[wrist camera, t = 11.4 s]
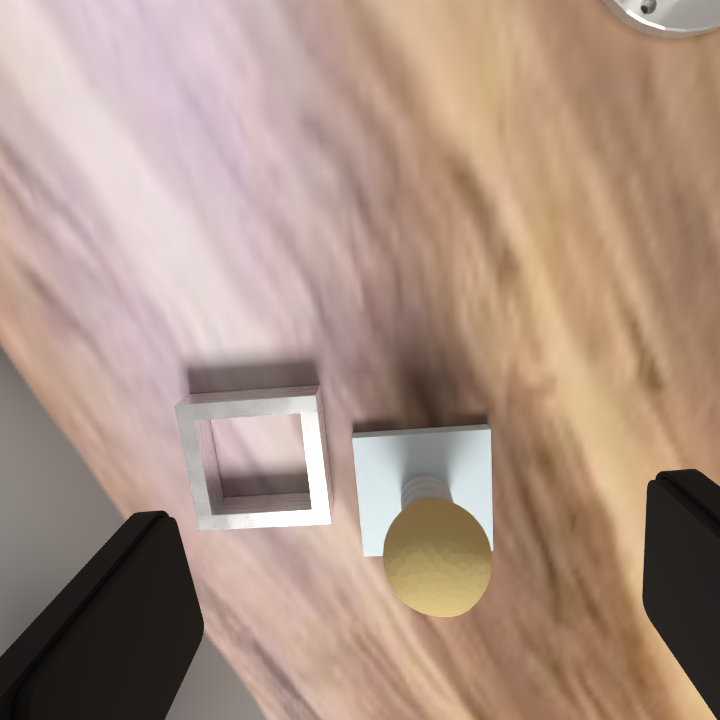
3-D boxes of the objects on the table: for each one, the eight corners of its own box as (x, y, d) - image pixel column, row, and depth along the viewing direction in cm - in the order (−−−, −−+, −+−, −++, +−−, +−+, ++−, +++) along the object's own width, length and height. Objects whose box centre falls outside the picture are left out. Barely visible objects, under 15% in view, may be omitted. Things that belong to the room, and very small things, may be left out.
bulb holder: (320, 384, 33) (315, 395, 30) (333, 504, 35) (330, 523, 32) (189, 394, 33) (174, 405, 31) (211, 511, 36) (198, 530, 33)
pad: (487, 424, 33) (490, 429, 32) (489, 542, 35) (493, 550, 34) (352, 432, 33) (352, 438, 32) (364, 548, 36) (363, 556, 35)
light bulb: (451, 541, 34) (480, 656, 24) (372, 518, 34) (368, 625, 24) (480, 468, 33) (523, 560, 23) (396, 444, 32) (404, 526, 23)
